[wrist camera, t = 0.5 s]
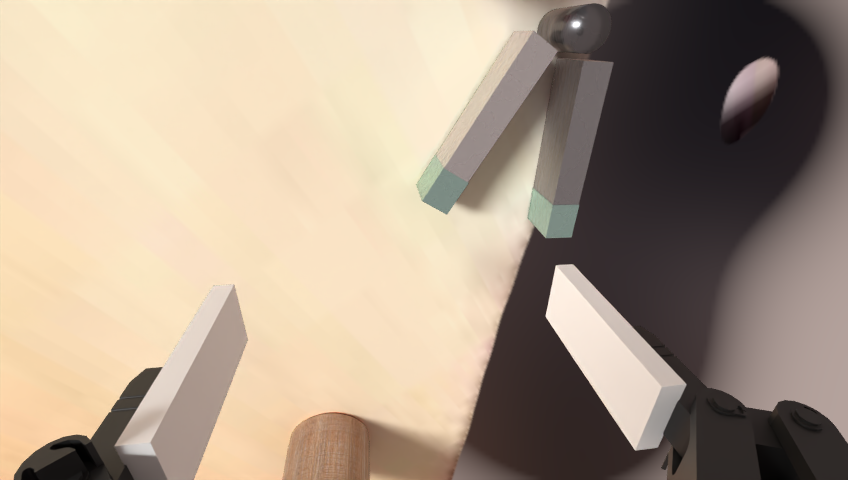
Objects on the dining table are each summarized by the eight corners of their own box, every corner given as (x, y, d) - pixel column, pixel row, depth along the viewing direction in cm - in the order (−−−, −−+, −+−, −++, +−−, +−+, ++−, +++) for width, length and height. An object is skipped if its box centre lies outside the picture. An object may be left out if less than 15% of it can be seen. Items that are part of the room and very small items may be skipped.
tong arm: (513, 31, 30) (533, 30, 27) (536, 49, 31) (558, 51, 28) (416, 184, 35) (422, 200, 32) (438, 197, 36) (446, 214, 32)
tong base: (540, 7, 30) (574, 2, 25) (594, 11, 31) (637, 6, 26) (507, 218, 38) (528, 244, 34) (550, 217, 39) (577, 242, 34)
